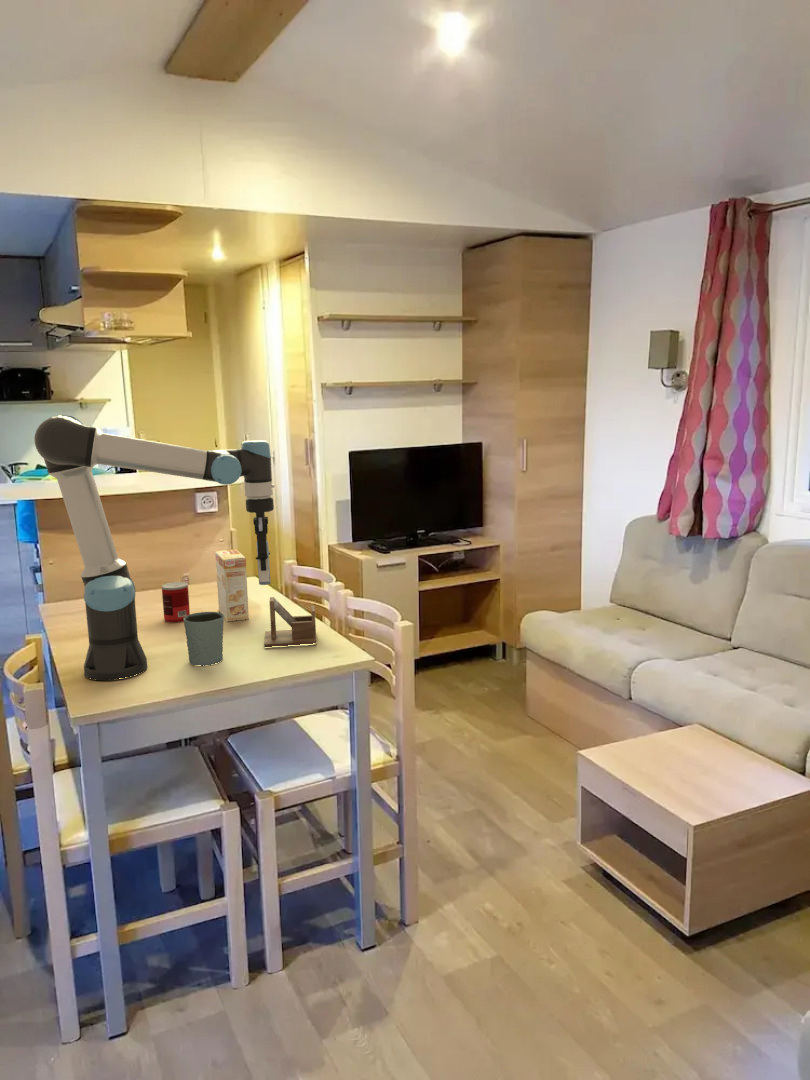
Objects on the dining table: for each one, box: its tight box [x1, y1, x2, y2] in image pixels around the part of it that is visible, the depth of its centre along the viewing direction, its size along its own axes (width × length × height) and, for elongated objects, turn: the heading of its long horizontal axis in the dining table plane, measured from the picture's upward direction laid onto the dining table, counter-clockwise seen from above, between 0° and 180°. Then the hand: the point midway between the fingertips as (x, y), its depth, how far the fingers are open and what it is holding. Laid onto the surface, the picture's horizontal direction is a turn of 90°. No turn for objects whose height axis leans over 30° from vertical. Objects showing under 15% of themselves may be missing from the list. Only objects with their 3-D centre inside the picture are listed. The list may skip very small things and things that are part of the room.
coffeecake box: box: [214, 548, 250, 622], centre depth 253 cm, size 15×7×20 cm, turn 22°
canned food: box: [161, 581, 191, 624], centre depth 250 cm, size 8×8×11 cm
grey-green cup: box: [183, 611, 225, 667], centre depth 211 cm, size 10×10×12 cm
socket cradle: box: [263, 596, 317, 648], centre depth 227 cm, size 12×14×12 cm
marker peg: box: [255, 540, 272, 586], centre depth 227 cm, size 3×3×12 cm
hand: (264, 579), depth 228 cm, fingers closed on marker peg, 3 cm apart
